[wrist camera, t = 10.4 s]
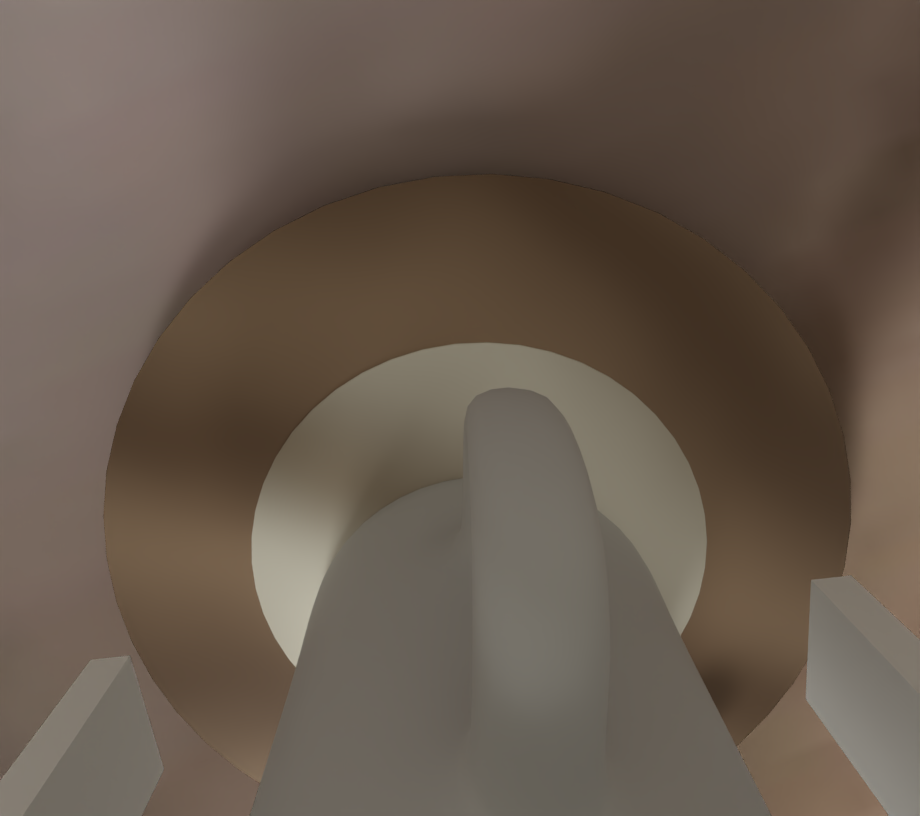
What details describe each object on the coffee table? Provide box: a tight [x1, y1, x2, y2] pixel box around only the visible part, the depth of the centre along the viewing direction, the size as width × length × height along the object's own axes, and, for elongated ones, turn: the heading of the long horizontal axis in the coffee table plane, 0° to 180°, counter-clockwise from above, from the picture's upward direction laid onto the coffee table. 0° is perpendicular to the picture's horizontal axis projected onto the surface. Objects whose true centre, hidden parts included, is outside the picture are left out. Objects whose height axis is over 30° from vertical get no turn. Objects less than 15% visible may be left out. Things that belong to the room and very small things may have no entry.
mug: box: [250, 387, 771, 816], centre depth 12 cm, size 12×8×11 cm
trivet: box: [103, 174, 851, 783], centre depth 17 cm, size 18×18×3 cm
